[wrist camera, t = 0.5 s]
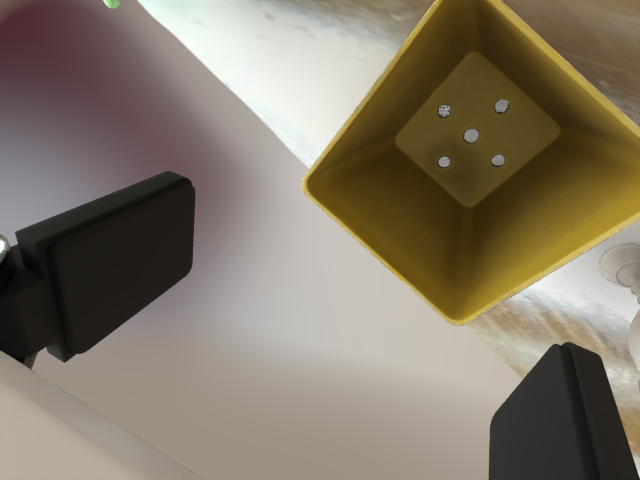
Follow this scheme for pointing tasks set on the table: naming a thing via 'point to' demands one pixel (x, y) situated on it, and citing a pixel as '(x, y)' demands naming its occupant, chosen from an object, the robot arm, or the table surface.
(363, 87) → the table surface
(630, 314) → the table surface
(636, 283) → the chalice
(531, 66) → the flower pot
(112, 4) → the gravy boat
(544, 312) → the table surface
